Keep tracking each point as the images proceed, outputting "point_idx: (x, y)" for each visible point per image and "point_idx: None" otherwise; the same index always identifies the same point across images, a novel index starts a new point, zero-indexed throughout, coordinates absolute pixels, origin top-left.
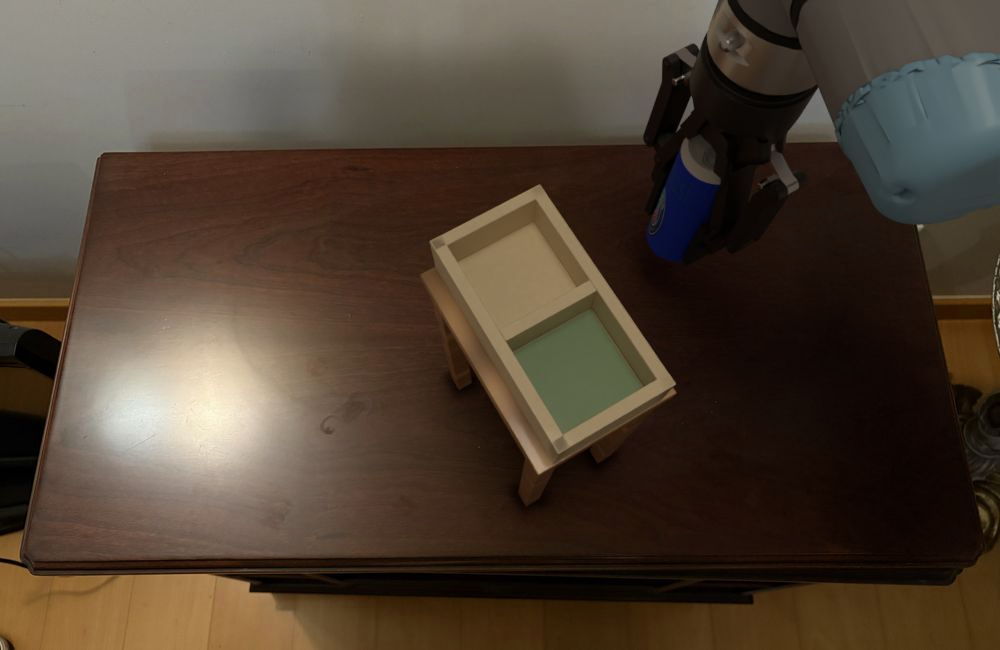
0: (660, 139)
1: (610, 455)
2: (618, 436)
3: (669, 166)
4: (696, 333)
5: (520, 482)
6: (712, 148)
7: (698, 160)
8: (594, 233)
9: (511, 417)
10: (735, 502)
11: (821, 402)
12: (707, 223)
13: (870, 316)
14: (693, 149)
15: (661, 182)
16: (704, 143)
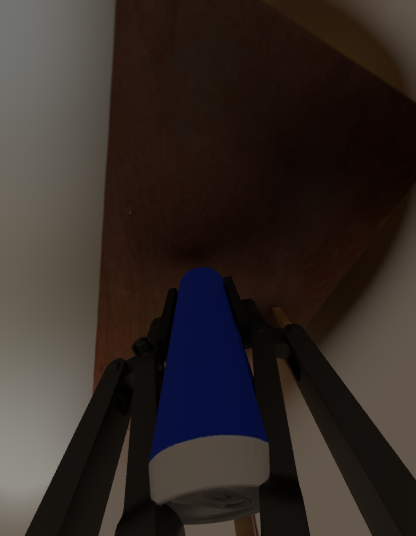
0: (133, 387)
1: (280, 308)
2: None
3: (163, 355)
4: (242, 246)
5: (294, 379)
6: (212, 501)
7: (228, 516)
8: (161, 279)
9: None
10: (330, 261)
11: (318, 187)
12: (243, 344)
13: (289, 104)
14: (203, 515)
15: None
16: (197, 508)
